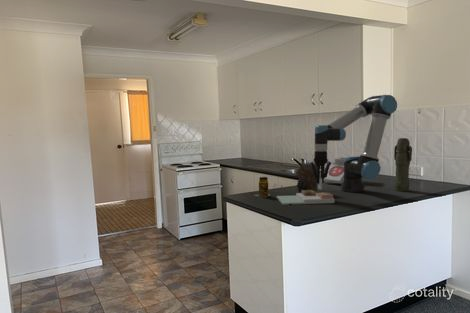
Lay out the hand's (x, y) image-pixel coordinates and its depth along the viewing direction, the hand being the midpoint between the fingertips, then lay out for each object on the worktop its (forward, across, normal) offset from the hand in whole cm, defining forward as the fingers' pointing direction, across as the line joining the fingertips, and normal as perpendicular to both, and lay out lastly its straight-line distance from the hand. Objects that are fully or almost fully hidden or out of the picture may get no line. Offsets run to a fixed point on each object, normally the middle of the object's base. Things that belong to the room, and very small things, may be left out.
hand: (319, 188), depth 215 cm
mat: (+6, +20, +4) cm, 21 cm away
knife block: (+6, +3, -15) cm, 16 cm away
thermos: (+5, -61, -16) cm, 64 cm away
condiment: (+6, +34, -13) cm, 36 cm away
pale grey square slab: (+6, +5, +4) cm, 9 cm away
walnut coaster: (+3, +7, 0) cm, 8 cm away
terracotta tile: (+3, 0, +9) cm, 9 cm away
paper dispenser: (+5, -34, -52) cm, 62 cm away
